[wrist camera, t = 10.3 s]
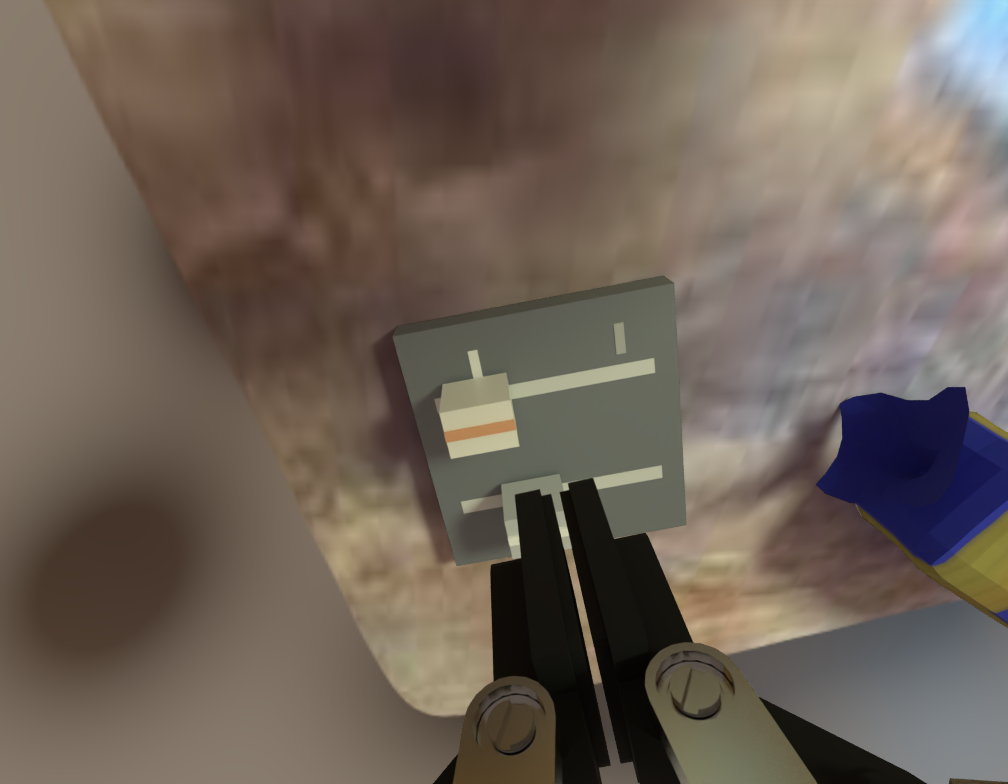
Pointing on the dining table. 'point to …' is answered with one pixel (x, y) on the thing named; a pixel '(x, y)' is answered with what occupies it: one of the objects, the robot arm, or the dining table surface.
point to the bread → (931, 488)
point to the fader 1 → (478, 416)
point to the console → (558, 406)
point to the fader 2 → (546, 487)
